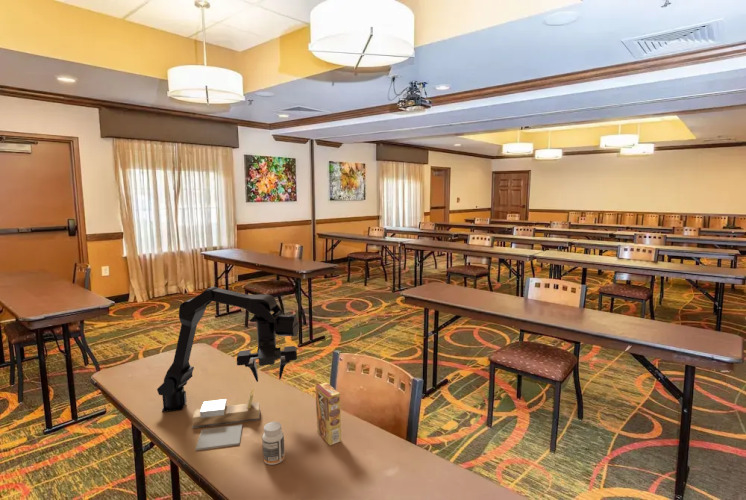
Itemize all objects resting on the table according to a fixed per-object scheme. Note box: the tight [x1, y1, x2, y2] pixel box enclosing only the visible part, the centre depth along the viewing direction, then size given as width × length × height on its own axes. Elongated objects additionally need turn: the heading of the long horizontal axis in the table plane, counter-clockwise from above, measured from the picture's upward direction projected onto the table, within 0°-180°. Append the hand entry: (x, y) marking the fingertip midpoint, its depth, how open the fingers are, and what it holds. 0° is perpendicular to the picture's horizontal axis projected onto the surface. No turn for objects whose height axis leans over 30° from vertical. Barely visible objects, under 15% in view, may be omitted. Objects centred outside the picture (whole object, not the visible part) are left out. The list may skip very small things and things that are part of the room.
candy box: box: [315, 382, 342, 446], centre depth 123 cm, size 9×4×15 cm, turn 33°
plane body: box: [192, 401, 261, 429], centre depth 134 cm, size 20×5×4 cm, turn 103°
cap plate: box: [200, 398, 228, 418], centre depth 133 cm, size 7×6×2 cm
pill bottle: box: [261, 421, 285, 466], centre depth 114 cm, size 6×6×10 cm
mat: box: [195, 424, 243, 452], centre depth 124 cm, size 12×10×1 cm
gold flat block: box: [247, 388, 255, 410], centre depth 135 cm, size 1×4×5 cm, turn 13°
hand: (268, 380), depth 135 cm, fingers open, 7 cm apart
